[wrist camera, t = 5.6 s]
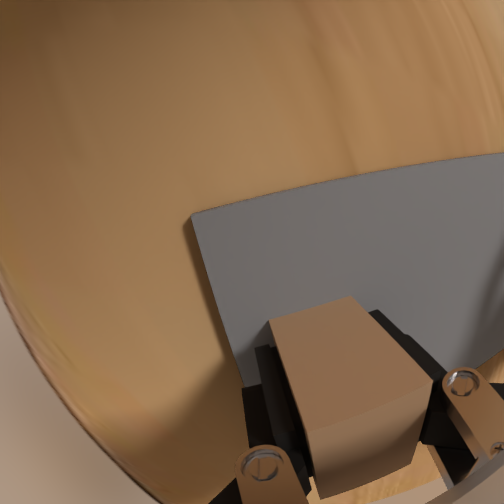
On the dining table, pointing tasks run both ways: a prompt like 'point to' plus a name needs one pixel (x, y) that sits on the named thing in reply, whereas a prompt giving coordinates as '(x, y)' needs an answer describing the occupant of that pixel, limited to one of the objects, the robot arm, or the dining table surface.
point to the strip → (363, 299)
